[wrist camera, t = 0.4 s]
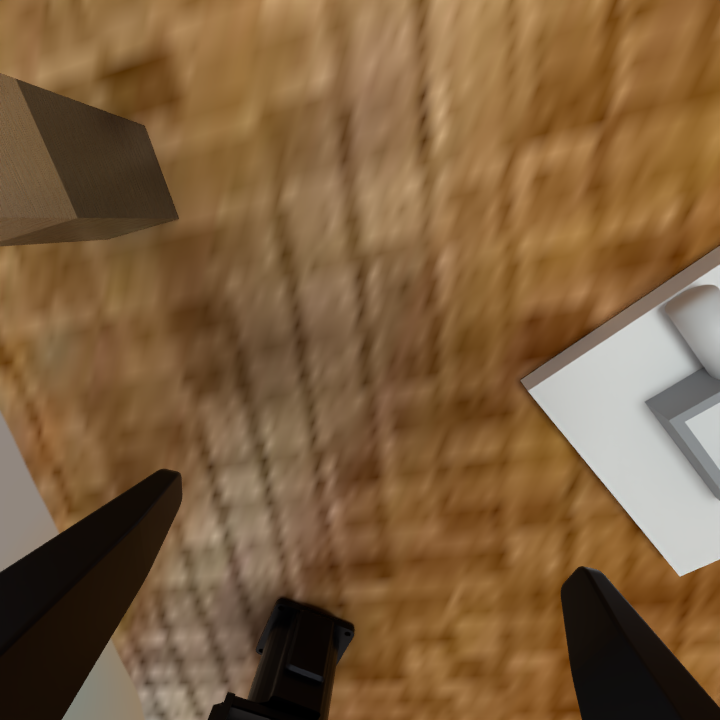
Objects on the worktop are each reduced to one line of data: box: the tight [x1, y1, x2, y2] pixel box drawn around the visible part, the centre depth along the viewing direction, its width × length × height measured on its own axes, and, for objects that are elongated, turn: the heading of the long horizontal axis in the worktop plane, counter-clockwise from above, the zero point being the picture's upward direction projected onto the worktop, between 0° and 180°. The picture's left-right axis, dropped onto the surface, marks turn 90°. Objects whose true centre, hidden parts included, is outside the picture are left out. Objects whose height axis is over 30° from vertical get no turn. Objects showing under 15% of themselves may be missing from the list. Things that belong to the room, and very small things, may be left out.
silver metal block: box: [0, 73, 179, 246], centre depth 15 cm, size 5×5×13 cm
